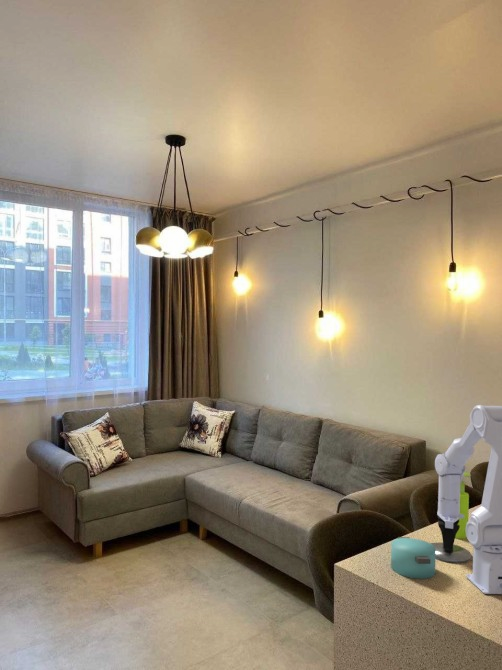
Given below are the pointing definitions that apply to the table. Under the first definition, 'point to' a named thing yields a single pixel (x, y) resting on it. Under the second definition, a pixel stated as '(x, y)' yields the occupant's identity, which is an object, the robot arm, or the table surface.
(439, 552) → the lid
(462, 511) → the soap dispenser
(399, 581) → the table surface
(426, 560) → the pot
